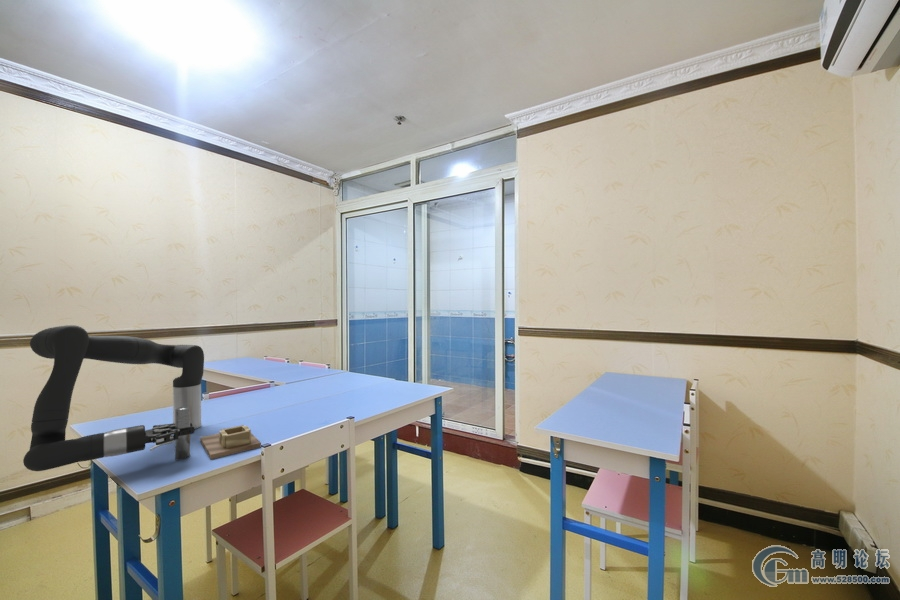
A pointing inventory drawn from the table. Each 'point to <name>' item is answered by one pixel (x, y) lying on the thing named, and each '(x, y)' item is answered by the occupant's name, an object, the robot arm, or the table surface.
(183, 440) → the steel pin
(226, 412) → the table surface
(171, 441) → the pliers
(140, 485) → the table surface
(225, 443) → the socket board
